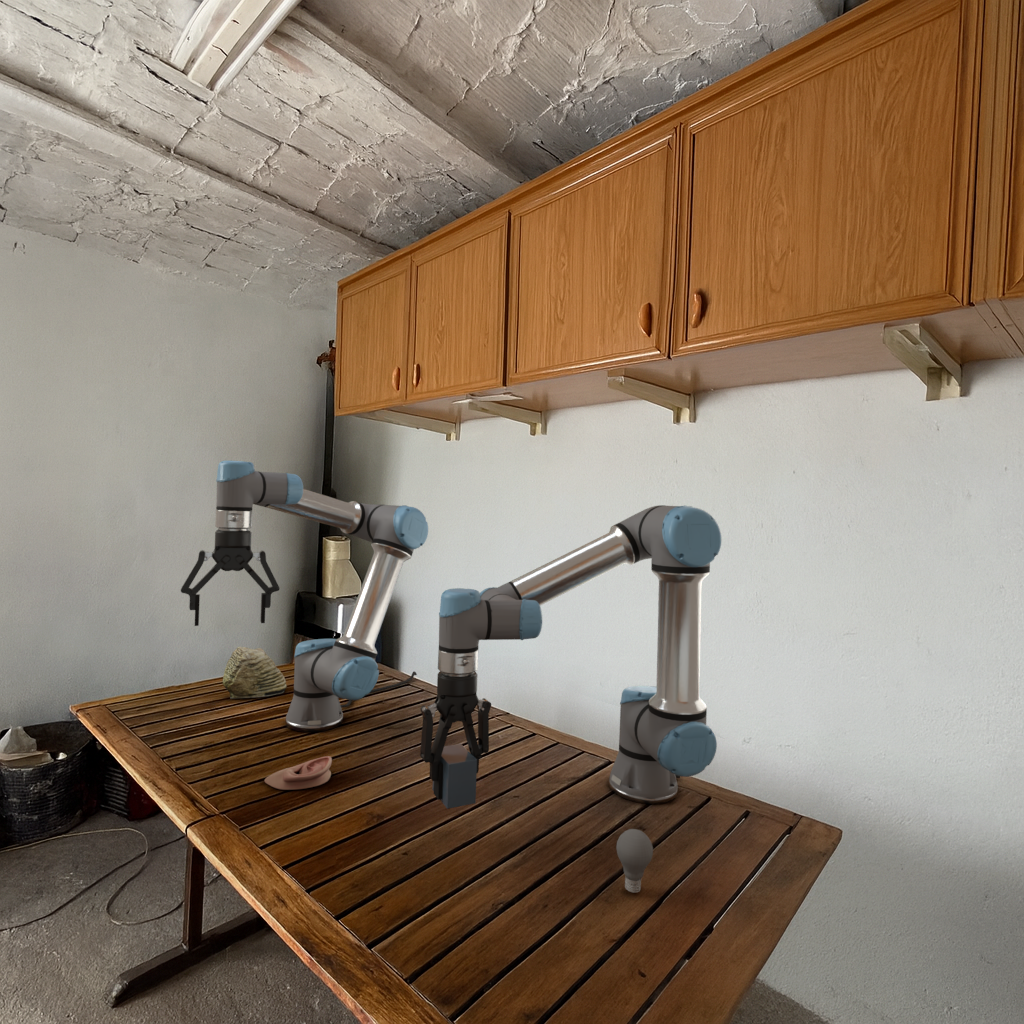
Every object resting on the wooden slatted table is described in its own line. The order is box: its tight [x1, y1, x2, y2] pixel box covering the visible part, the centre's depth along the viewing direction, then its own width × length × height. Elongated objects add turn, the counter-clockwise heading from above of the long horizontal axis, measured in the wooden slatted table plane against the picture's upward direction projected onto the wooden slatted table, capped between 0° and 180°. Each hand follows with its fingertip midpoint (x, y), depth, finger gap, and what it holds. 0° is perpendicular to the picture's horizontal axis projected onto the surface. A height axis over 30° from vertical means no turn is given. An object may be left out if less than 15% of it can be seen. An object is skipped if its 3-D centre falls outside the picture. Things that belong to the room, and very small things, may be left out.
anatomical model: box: [264, 755, 333, 791], centre depth 141 cm, size 13×4×12 cm
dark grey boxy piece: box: [431, 743, 478, 810], centre depth 120 cm, size 8×6×8 cm
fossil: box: [222, 646, 288, 699], centre depth 198 cm, size 9×18×15 cm, turn 132°
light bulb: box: [615, 828, 654, 894], centre depth 106 cm, size 6×6×10 cm
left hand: (230, 623), depth 143 cm, fingers open, 13 cm apart
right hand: (453, 793), depth 120 cm, fingers closed on dark grey boxy piece, 6 cm apart
